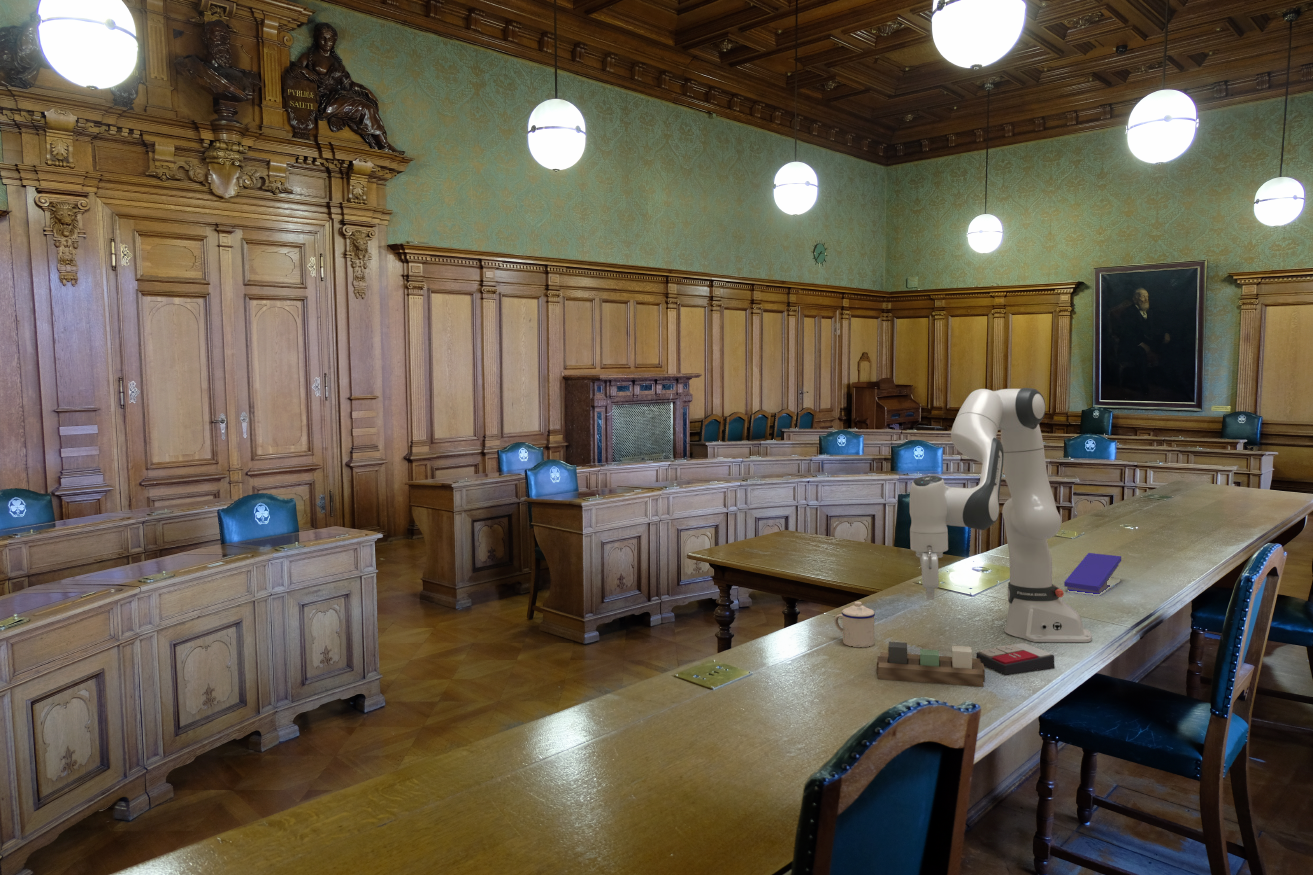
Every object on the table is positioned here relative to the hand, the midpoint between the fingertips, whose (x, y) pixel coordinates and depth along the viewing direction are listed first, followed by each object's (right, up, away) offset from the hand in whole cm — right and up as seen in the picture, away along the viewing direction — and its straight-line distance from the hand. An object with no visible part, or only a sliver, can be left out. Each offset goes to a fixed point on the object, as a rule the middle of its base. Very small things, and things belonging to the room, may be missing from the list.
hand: (930, 598), depth 202 cm
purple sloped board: (+86, -13, +85) cm, 122 cm away
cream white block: (+7, -17, -2) cm, 18 cm away
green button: (0, -18, +1) cm, 18 cm away
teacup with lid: (-12, -18, +29) cm, 36 cm away
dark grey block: (-7, -17, +3) cm, 19 cm away
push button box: (+23, -19, +6) cm, 31 cm away
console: (0, -19, +1) cm, 19 cm away
